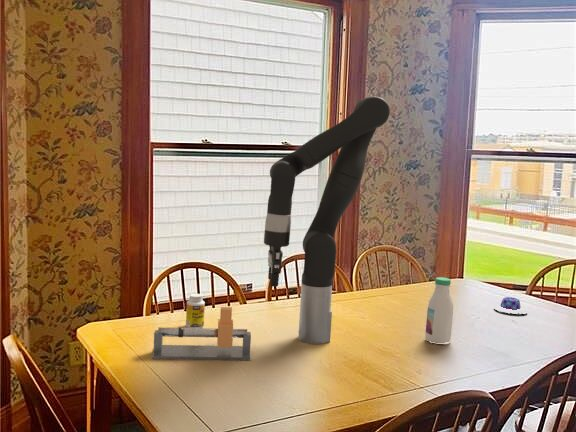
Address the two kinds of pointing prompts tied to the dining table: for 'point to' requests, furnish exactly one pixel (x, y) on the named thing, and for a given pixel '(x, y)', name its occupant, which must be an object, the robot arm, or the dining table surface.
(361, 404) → the dining table surface
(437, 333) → the milk bottle
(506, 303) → the pudding
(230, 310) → the collar
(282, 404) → the dining table surface
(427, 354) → the dining table surface
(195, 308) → the supplement bottle
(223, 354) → the pipe stand
